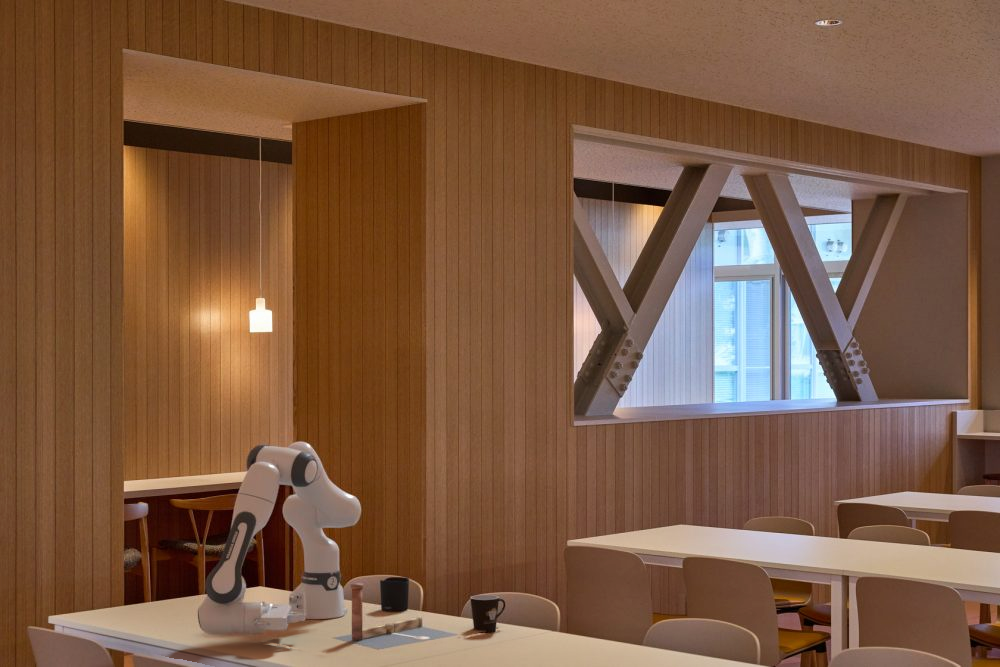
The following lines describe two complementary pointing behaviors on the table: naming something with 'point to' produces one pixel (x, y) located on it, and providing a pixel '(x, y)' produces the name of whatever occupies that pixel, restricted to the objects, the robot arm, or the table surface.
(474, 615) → the coffee mug
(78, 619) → the table surface
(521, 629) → the table surface
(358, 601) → the brown wooden l-shaped piece
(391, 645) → the board
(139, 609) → the table surface
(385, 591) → the pen holder
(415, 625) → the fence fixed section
